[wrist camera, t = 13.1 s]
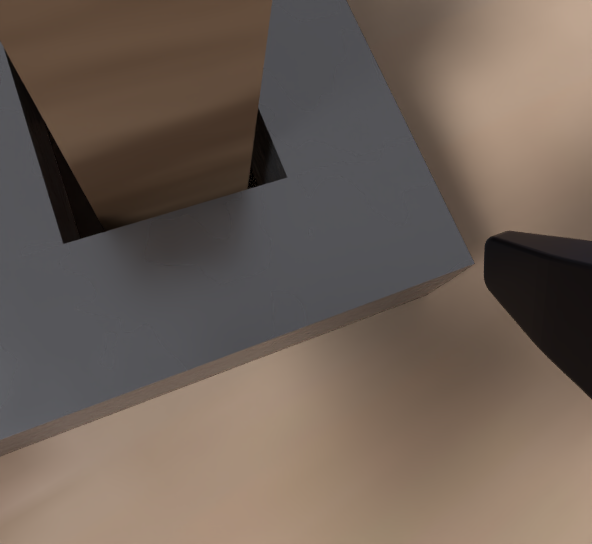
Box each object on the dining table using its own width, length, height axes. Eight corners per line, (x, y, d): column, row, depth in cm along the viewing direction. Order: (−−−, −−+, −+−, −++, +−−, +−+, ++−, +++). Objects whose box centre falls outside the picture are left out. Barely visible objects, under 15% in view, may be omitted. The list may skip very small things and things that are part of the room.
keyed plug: (244, 207, 18) (303, -236, 6) (114, 249, 17) (-125, -186, 5) (188, 71, 19) (144, -523, 7) (64, 102, 18) (-229, -533, 6)
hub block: (426, 294, 18) (474, 263, 15) (-12, 460, 15) (-79, 468, 11) (277, -30, 21) (289, -116, 18) (-113, 47, 18) (-189, -42, 14)
